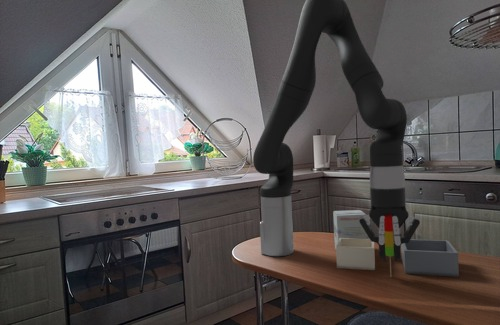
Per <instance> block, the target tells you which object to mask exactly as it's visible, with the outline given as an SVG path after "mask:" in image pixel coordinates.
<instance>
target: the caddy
mask: <svg viewBox="0 0 500 325" xmlns="http://www.w3.org/2000/svg"><path fill="white" fill-rule="evenodd" d="M401 262H402V266H403V270H404V273H405V274H408V275H409V274H410V275H423V276H438V277H442V276H443V277H456V278H457V277H458V278H459V277H460V273H459V268H460V267H459V252H458V251H457V249H456V248H455V247H454V246H453V245H452V243H451V242H450V241H449V240H445V239H444V240H443V239H414V238H411V239H410V241H409V242H408V243H403V244H401Z"/></svg>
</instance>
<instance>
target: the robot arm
mask: <svg viewBox="0 0 500 325" xmlns="http://www.w3.org/2000/svg"><path fill="white" fill-rule="evenodd" d="M297 25H298V26H297V29H296V32H295V38H294V41H293V46H292V48H291V52H290V54H289V58H288V62H287V64H286V67H285V70H284V73H283V76H282V78H281V81H280V84H279V86H278V90H277V93H276V97H275V99H274V103H273V105H272V108H271V111H270V113H269V116H268V119H267V122H266V124H265V127H264V129H263V131H262V134H261V135H260V138H259V139H258V142H257V144H256V146H255V149H254V152H253V155H252V156H253V158H252V161H253V162H252V164H253V166H254V169H255V171H257V172H258V173H259V174H263V175H268V179H267V181H266V182H265V183H264V184H263V185H262V186H261V187H260V192H259V193H260V209H261V211H260V212H261V213H260V214H261V221H260V222H259V234H260V254H261V255H266V256H271V257H284V256H288V255H291V254H293V253H294V250H295V249H294V247H295V246H294V232H293V231H294V230H293V210H292V206H293V204H292V189H293V184H294V157H293V156H294V155H293V152H292V148H290V146H289V145H288V144H286V143H284V140H285V138H286V135H287V133H288V132H289V131H290V129H291V128H292V127H293V125H294V124H295V123H296V122H297V121H298V120H299V118H300V117H301V116H302V115H303V113H304V112H305V111H306V109H307V107H308V106H309V103H310V101H311V97H312V95H313V92H314V90H315V87H316V80H317V79H316V78H317V75H316V72H317V69H316V52H317V51H316V50H317V47H318V45H319V41H320V38H321V35H322V33H323V34H326V35H327V36H328V37H329V38H330V40H332V42H333V43H334V44H335V47H336V48H337V50H338V52H339V59H340V66H341V70H342V72H343V75H344V77H345V79H346V81H347V83H348V84H349V86H350V88H351V90H352V91H353V93H354V97H355V102H356V106H357V108H358V112H359V116H360V118H361V119H362V121H363V122H364V123H365V124H366V126H367V127H369V128H370V129H373V130H377V137H376V140H375V141H373V142H372V143H370V146H369V163H370V164H369V165H370V167H369V169H370V170H369V192H370V193H369V194H370V210H369V211H368V214H366V215H367V216H365V217H360V220H359V222H360V224H361V226H362V227H363V229H364V230H365V232H366V234H367V235H368V239H370V240H371V241H372V242H374V243H376V244H377V245H378V256H379V258H380V259H382V261H383V262H387V260H386V259H387V256H386V255H385V233H384V218H385V216H384V215H392V219H393V238H394V256H393V261H394V262H398V261H399V260H400V259H402V254H401V244H403V243H408V242H409V241H410V239H412V238H413V236H414V234H415V232H416V231H417V229H418V227H419V226H420V223H421V222H420V220H419V218H418V217H415V216H412V215H410V214H409V211H407V206H406V205H407V204H406V203H407V202H406V178H405V177H406V176H405V171H404V158H403V156H404V155H403V143H404V140H405V133H406V128H407V124H408V122H407V121H408V120H407V116H408V115H407V111H406V107H405V106H404V104H403V103H402V102H400V100H397V99H393V98H387V97H386V96H385V95H384V92H383V90H382V89H383V87H384V80H383V77H382V75H381V73H380V72H379V70H378V68H377V67H376V65H375V64H374V62H373V60H372V59H371V57H370V55H369V53H368V52H367V50H366V49H365V48H366V47H364V45H363V43H362V40H361V38H360V36H359V34H358V31H357V29H356V26H355V23H354V21H353V17H352V15H351V12H350V9H349V7H348V5H347V3H346V2H345V0H305V2H304V3H303V6H302V9H301V12H300V17H299V20H298V24H297ZM370 220H371V221H372V222H373V224H375V225H376V227H377V228H378V235H376V234H375V233H374V231H373V229H372V228H371V226H370V225H371V221H370ZM406 221H407V225H408V227H407V229H406V230H405V232H404V234H403V235H402V236H401V233H400V228H402V226H403V225H404V223H405V222H406Z"/></svg>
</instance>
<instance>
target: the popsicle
mask: <svg viewBox="0 0 500 325" xmlns="http://www.w3.org/2000/svg"><path fill="white" fill-rule="evenodd" d="M384 216H385V218H384V233H385V239H384V243H385V255H386V257H389V276H390V278H392V276H393V274H392V259H391V258H392V257H394V233H393V219H392V215H384Z"/></svg>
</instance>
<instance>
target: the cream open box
mask: <svg viewBox="0 0 500 325" xmlns="http://www.w3.org/2000/svg"><path fill="white" fill-rule="evenodd" d="M335 252H336V269H348V270H362V271H363V270H364V271H376V256H375V253H376V252H375V242H372V241H371V240H370V238H368V239H357V238H339V240H338V243H337V245H336V249H335Z"/></svg>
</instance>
